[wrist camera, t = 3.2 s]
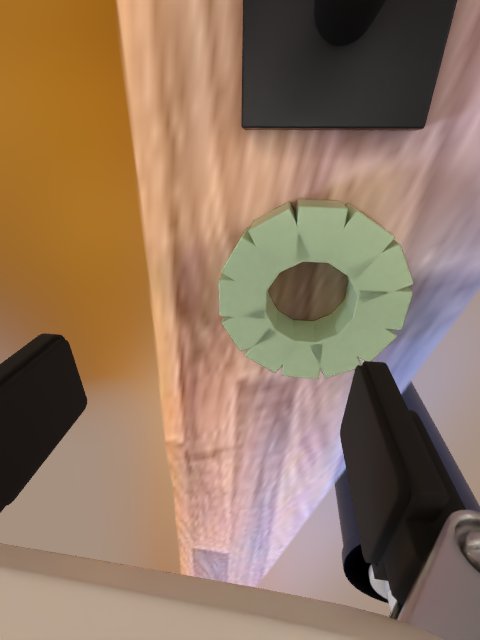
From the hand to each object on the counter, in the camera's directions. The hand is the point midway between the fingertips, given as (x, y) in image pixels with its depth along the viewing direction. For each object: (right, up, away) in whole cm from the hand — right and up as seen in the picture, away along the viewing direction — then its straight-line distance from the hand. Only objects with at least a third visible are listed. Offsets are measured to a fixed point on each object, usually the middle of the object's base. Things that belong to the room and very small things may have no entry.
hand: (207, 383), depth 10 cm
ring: (+5, +4, +8) cm, 11 cm away
